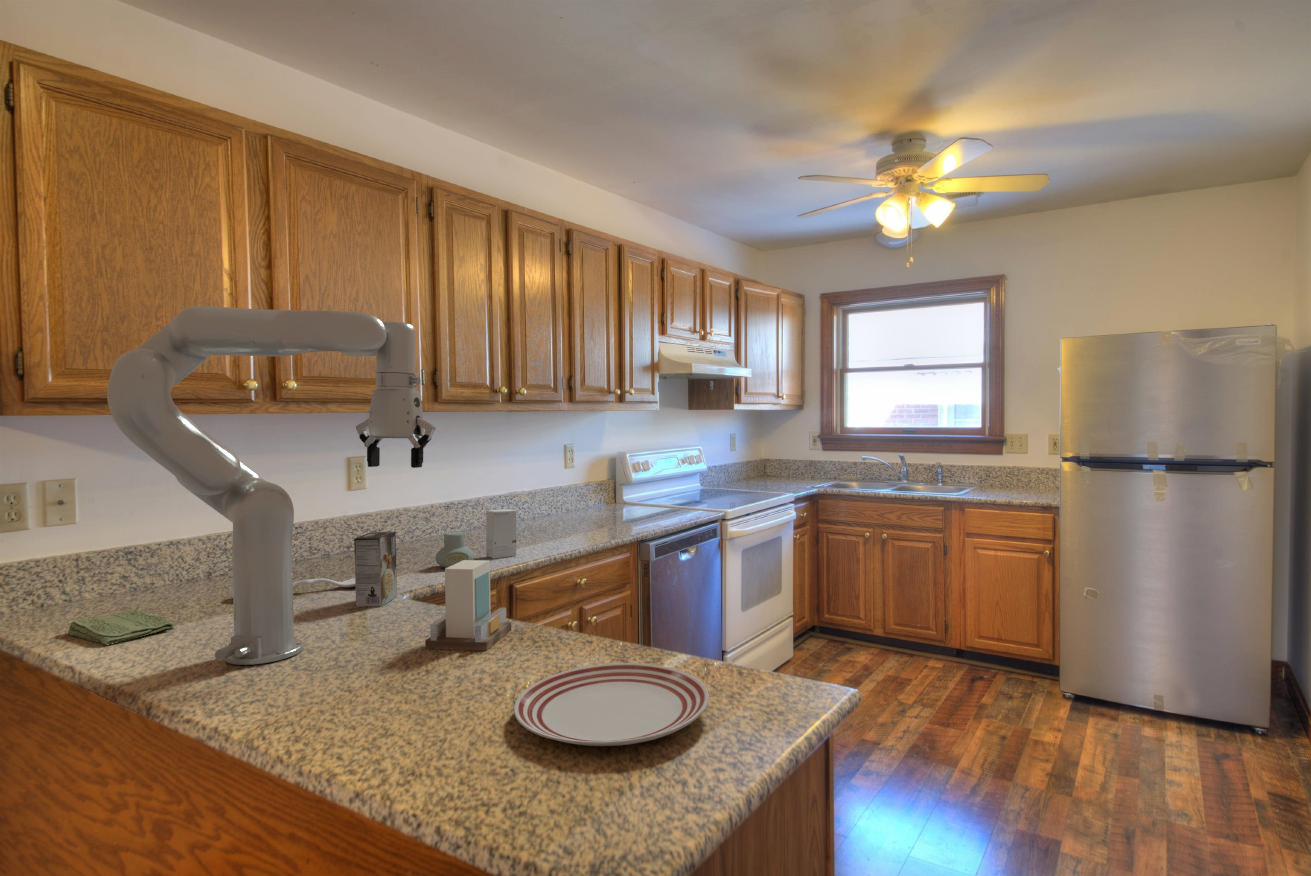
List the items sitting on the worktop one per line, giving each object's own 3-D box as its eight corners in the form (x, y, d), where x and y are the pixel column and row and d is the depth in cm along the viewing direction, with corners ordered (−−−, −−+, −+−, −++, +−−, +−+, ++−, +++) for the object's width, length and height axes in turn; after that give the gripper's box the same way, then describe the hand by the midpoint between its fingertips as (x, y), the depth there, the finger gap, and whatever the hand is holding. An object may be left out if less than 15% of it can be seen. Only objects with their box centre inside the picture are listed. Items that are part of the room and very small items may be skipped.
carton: (491, 625, 139) (490, 560, 139) (474, 638, 131) (473, 569, 130) (464, 624, 140) (463, 560, 140) (446, 637, 131) (444, 568, 131)
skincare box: (492, 559, 216) (492, 511, 216) (485, 556, 221) (484, 509, 221) (517, 556, 221) (517, 509, 221) (510, 553, 226) (509, 507, 226)
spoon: (376, 589, 179) (375, 575, 179) (230, 606, 164) (230, 591, 164) (371, 582, 187) (371, 569, 187) (233, 597, 172) (232, 584, 172)
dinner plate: (541, 783, 80) (541, 755, 80) (497, 699, 106) (496, 677, 106) (746, 738, 91) (746, 713, 91) (661, 671, 117) (661, 652, 116)
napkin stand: (486, 650, 128) (486, 642, 128) (425, 648, 130) (425, 640, 130) (511, 629, 141) (511, 622, 141) (455, 627, 142) (455, 620, 142)
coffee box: (371, 597, 169) (370, 531, 169) (397, 596, 169) (396, 531, 169) (354, 607, 160) (353, 537, 160) (382, 606, 160) (380, 537, 160)
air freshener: (436, 571, 199) (435, 536, 199) (434, 565, 207) (434, 532, 207) (475, 567, 203) (474, 533, 203) (472, 562, 211) (471, 530, 211)
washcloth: (105, 650, 132) (104, 633, 132) (63, 637, 141) (63, 621, 141) (179, 631, 144) (179, 616, 144) (137, 620, 152) (136, 606, 152)
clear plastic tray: (482, 642, 128) (482, 626, 128) (430, 640, 129) (430, 624, 129) (507, 622, 141) (507, 607, 141) (460, 620, 142) (459, 606, 142)
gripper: (443, 384, 144) (443, 467, 144) (368, 384, 147) (367, 465, 147) (425, 381, 136) (424, 468, 136) (346, 382, 140) (345, 467, 140)
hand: (394, 466), depth 142 cm, fingers open, 9 cm apart
